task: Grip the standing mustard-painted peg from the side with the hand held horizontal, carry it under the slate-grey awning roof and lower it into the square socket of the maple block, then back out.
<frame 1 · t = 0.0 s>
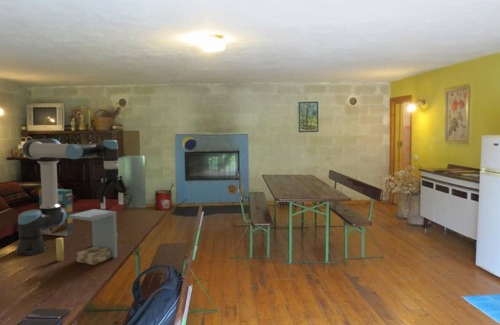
hand: (112, 206, 217), 28 cm above the table, tool pointing down, fingers open, 13 cm apart
awning: (94, 259, 213), on the table
cake mix box: (57, 234, 265), on the table
peg: (60, 260, 212), on the table
teacup: (105, 245, 239), on the table
socket block: (94, 259, 213), on the table
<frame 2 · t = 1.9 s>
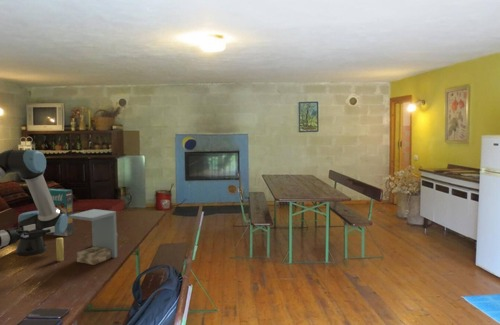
hand: (44, 227, 202), 20 cm above the table, tool horizontal, fingers open, 13 cm apart
nothing on the table moved.
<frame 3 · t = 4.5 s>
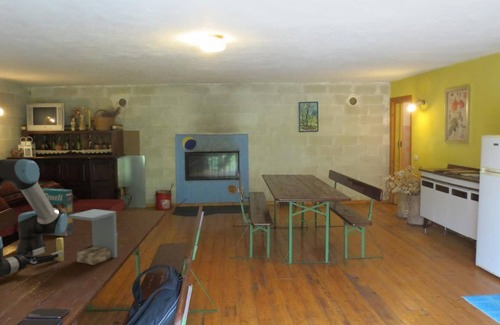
hand: (53, 251, 207), 6 cm above the table, tool horizontal, fingers open, 13 cm apart
nothing on the table moved.
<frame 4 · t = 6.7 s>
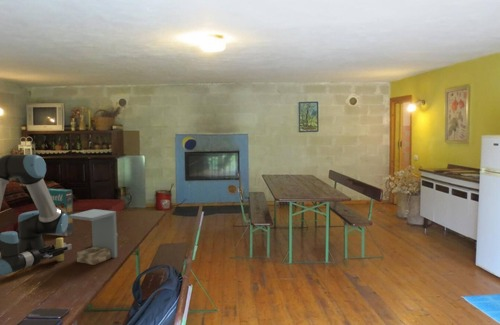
hand: (68, 245, 216), 7 cm above the table, tool horizontal, fingers closed on peg, 3 cm apart
peg: (60, 260, 212), on the table, touching gripper
everything else where it was.
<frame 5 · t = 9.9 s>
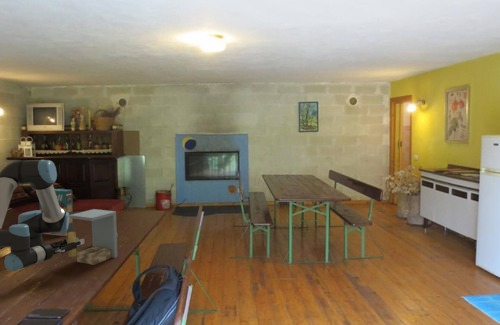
hand: (80, 240, 204), 13 cm above the table, tool horizontal, fingers closed on peg, 3 cm apart
peg: (72, 255, 199), point 6 cm above the table, touching gripper
everything else where it was.
when the fingers open (11 cm above the table, at t = 13.2 s): peg drops 4 cm, resting in socket block.
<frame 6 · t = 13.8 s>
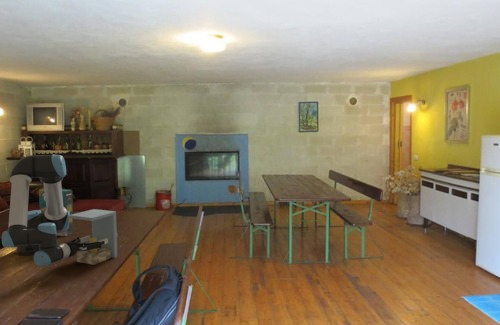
hand: (98, 239, 215), 10 cm above the table, tool horizontal, fingers open, 12 cm apart
peg: (93, 259, 213), resting in socket block
everything else where it was.
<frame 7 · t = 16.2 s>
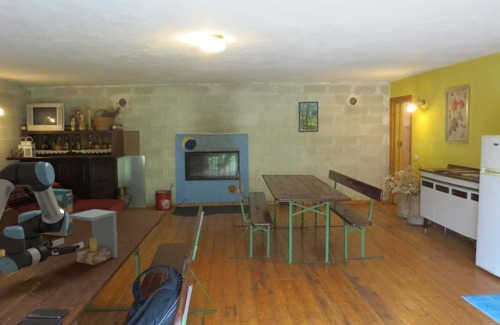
hand: (73, 242, 200), 13 cm above the table, tool horizontal, fingers open, 13 cm apart
nothing on the table moved.
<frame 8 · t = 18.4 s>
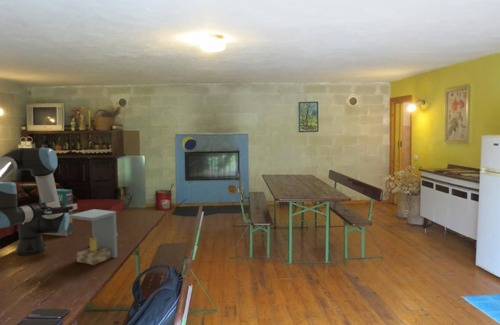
hand: (66, 205, 200), 32 cm above the table, tool horizontal, fingers open, 13 cm apart
nothing on the table moved.
at the end: peg 0.1 cm off-centre on the socket block, point 0.0 cm above the socket block's base; peg tilted 0°; the gripper is holding nothing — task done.
